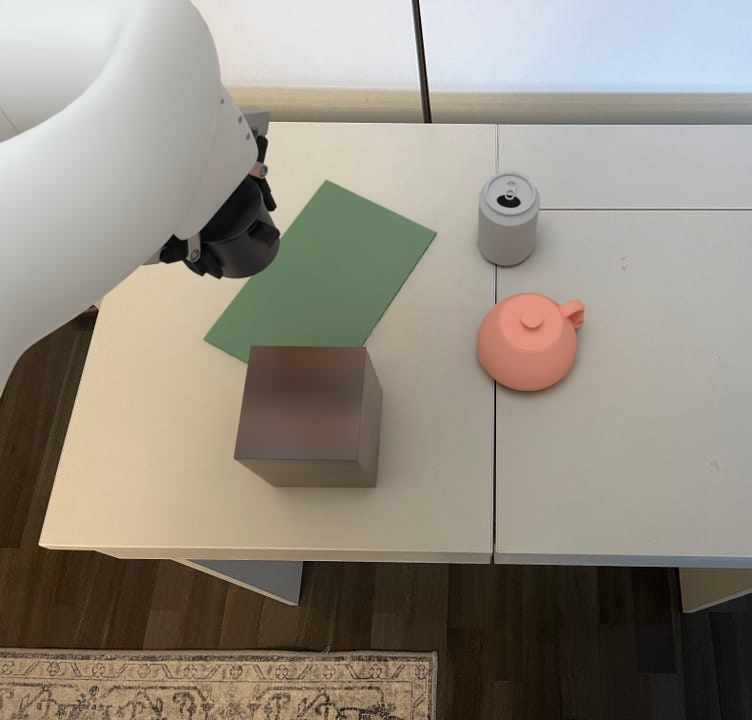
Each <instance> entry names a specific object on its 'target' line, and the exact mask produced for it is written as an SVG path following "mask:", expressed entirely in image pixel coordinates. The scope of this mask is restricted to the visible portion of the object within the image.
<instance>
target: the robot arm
mask: <svg viewBox="0 0 752 720" xmlns="http://www.w3.org/2000/svg"><path fill="white" fill-rule="evenodd" d="M202 15H203V14H201V13H200V10H198V8H197V7H196V6H195V5H194V3H192V2H191V0H0V399H1V398H2V395H3V392H4V390H5V387H6V385H7V382H8V380H9V378H10V376H11V374H12V371H13V370H14V368H15V366H16V364H17V363H18V360H19V359H20V358H21V357H22V355H23V354H24V353H25V352H26V351H27V350H28V349H29V348H31V347H32V346H33V345H34V344H36V343H37V342H39V341H40V340H42V339H43V338H45V337H47V336H49V335H50V334H51V333H53V332H54V331H56V330H58V329H59V328H61V327H62V326H64V325H66V324H67V323H69V322H71V320H74V319H75V318H76V317H78V316H79V315H81V314H82V313H84V312H86V311H87V310H88V309H89V308H91V307H92V306H93V305H95V304H96V303H97V302H99V301H100V300H101V299H102V298H104V297H105V296H107V295H108V294H109V293H110V292H111V291H113V290H114V289H116V288H117V286H119V285H120V284H121V283H123V282H124V281H125V280H126V279H127V278H128V277H130V275H132V274H133V273H134V272H135V271H136V270H138V269H139V268H140V267H141V266H151V265H159V264H160V263H163V264H166V265H170V264H174V263H179V262H183V263H184V265H185V266H186V267H187V269H188V270H190V271H191V272H192V273H194V274H195V275H198V276H200V277H202V278H203V277H204V276H205V275H206V274H208V275H210V277H213V278H214V279H215V278H216V279H217V280H221V279H222V278H223V277H222V276H223V270H222V269H221V268H220V266H219V265H218V263H217V262H216V260H215V259H214V258H213V256H212V255H211V253H210V252H209V251H208V250H207V249H205V248H203V247H201V246H200V230H201V229H202V228H203V227H204V226H205V225H206V224H207V223H208V221H209V220H210V219H211V218H212V217H213V216H214V214H215V213H216V212H217V211H218V210H219V208H220V207H221V206H222V205H223V204H224V203H225V201H226V200H227V199H228V198H229V196H230V195H231V194H232V193H233V192H234V190H235V189H236V188H237V187H238V186H239V184H240V183H241V182H242V181H243V179H244V178H245V177H246V176H247V174H248V175H249V176H251V177H252V178H253V179H254V180H255V181H256V183H257V184H258V186H259V188H260V190H261V193H262V196H263V202H264V204H265V206H266V208H267V210H268V212H269V213H272V212H275V210H276V209H277V208H278V205H277V203H276V201H275V199H274V196H273V194H272V189H271V187H270V185H269V182H268V181H267V179H266V176H267V175H268V173H269V167H268V165H266V164H265V159H266V155H267V151H268V145H269V140H268V138H267V137H266V135H268V131H269V125H270V119H271V114H270V111H268V110H266V109H263V108H261V107H260V106H257V105H250V106H249V105H248V106H238V104H237V102H236V101H235V99H234V98H233V96H232V94H231V93H230V92H229V91H228V89H227V87H226V86H225V85H224V84H223V82H222V79H221V77H222V76H221V67H220V61H219V54H218V51H217V47H216V43H215V41H214V37H213V35H212V33H211V30H210V28H209V26H208V24H207V22H206V20H205V19H204V17H203V16H202Z"/></svg>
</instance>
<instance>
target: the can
mask: <svg viewBox="0 0 752 720" xmlns="http://www.w3.org/2000/svg"><path fill="white" fill-rule="evenodd" d="M540 207H541V196H540V193H539V190H538V188H537V187H536V186H535V184H534V182H533V181H532V180H531V179H530V178H529V177H528V176H526V175H525V174H524V173H522V172H518V171H515V170H513V171H511V170H510V171H509V170H506V171H501V172H498V173H496V174H494V175H493V176H491V177H490V178H489V179H488V180H487V181H486V183H484V185H483V186H482V187H481V189H480V192H479V194H478V225H477V226H478V229H477V230H478V231H477V246H478V249H479V251H480V253H481V254H482V256H483V257H484V258H485V259H486V260H487V261H489V262H491V263H493V264H496V265H499V266H509V267H510V266H513V265H518V264H520V263H521V262H523V261H525V260H526V259H527V258H528V257H529V255H530V254H532V250H533V247H534V243H535V237H536V231H537V224H538V220H539V213H540Z"/></svg>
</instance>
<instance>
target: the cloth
mask: <svg viewBox="0 0 752 720" xmlns="http://www.w3.org/2000/svg"><path fill="white" fill-rule="evenodd" d="M437 235H438V232H437V231H434V230H432V229H430V228H428V227H426V226H424V225H422V224H420V223H418V222H416V221H414V220H411V219H409V218H408V217H406V216H404V215H401V214H399V213H397V212H395V211H393V210H391V209H389V208H386V207H384V206H383V205H380V204H378V203H376V202H373V201H372V200H370V199H367V198H366V197H363V196H361V195H359V194H357V193H355V192H353V191H352V190H349V189H347V188H345V187H343V186H340V185H338V184H337V183H335V182H332V181H330V180H328V179H324V181H323V182H322V184H321V185H320V187H318V189H317V190H316V191H315V192H314V194H313V196H312V197H311V198H310V200H309V201H308V202H307V203H306V204H305V206H304V207H303V208H302V210H301V211H300V212H299V213H298V214H297V216H296V217H295V219H294V220H293V221H292V222H291V224H290V225H289V227H288V228H287V229H286V231H285V232H284V233H283V234H282V236H281V237H280V245H279V250H278V253H277V255H276V257H275V259H274V260H273V261H272V263H271V264H270V265H269V266H268V267H267V268H265V269H264V270H263V271H261V272H259V273H258V274H256V275H253V276H250V277H248V280H247V281H246V282H245V283H244V285H243V286H242V288H241V289H240V290H239V291H238V293H237V294H236V295H235V296H234V298H233V299H232V300H231V301H230V303H229V305H228V306H227V307H226V308H225V310H224V311H223V312H222V314H221V315H220V316H219V317H218V318H217V320H216V321H215V323H213V325H212V326H211V328H210V329H209V331H208V332H207V333H206V334H205V335H204V337H203V338H202V339H203V341H204V342H207V343H209V344H210V345H212V346H214V347H216V348H217V349H219V350H221V351H223V352H225V353H227V354H228V355H230V356H233V357H234V358H236V359H238V360H240V361H242V362H243V363H245V364H247V365H248V360H249V354H250V347H251V345H257V346H328V347H363V345H364V344H365V342H366V341H367V339H368V338H369V337H370V335H371V333H372V332H373V330H374V329H375V327H376V326H377V324H378V323H379V321H380V320H381V318H382V317H383V316H384V314H385V312H386V311H387V309H388V308H389V306H390V305H391V304H392V302H393V300H394V299H395V297H396V296H397V294H398V293H399V292H400V290H401V288H402V287H403V285H404V284H405V282H406V281H407V279H408V278H409V276H410V275H411V273H412V272H413V271H414V269H415V267H416V265H417V264H418V263H419V262H420V260H421V258H422V257H423V255H424V254H425V253H426V251H427V250H428V248H429V246H430V245H431V244H432V243H433V241H434V239H435V238H436V236H437Z"/></svg>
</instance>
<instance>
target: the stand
mask: <svg viewBox="0 0 752 720" xmlns="http://www.w3.org/2000/svg"><path fill="white" fill-rule="evenodd" d="M243 387H244V388H243V394H242V401H241V405H240V406H241V407H240V412H239V413H240V414H239V418H238V419H239V420H238V427H237V432H236V440H235V446H234V453H233V459H234V461H236V462H237V463H239V464H240V465H241V466H243V467H245V468H246V469H247V470H249V471H251V472H252V473H254V474H255V475H256V476H257V477H259V478H261V480H263V481H264V482H266V483H267V484H269V485H271V486H272V487H275V488H276V487H279V488H348V489H349V488H353V489H354V488H357V489H361V488H363V489H364V488H365V489H372V488H373V489H376V488H377V481H378V466H379V453H380V439H381V438H380V437H381V423H382V407H383V395H384V392H383V389H382V385H381V383H380V380H379V378H378V375H377V372H376V369H375V367H374V364H373V362H372V359H371V356H370V354H369V351H368V348H367V347H366V346H362V347H328V346H257V345H251V347H250V354H249V360H248V364H247V367H246V375H245V381H244V386H243Z"/></svg>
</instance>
